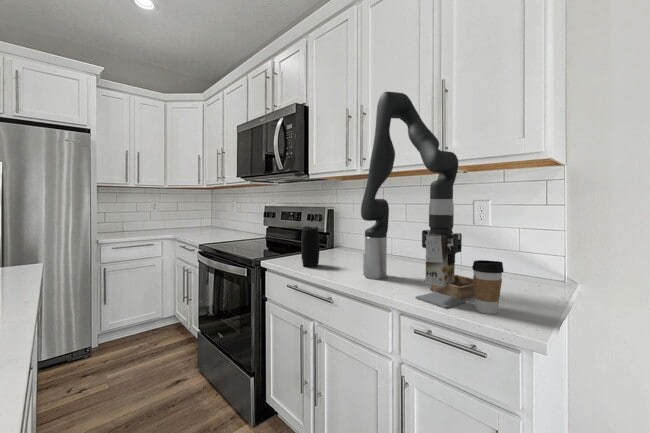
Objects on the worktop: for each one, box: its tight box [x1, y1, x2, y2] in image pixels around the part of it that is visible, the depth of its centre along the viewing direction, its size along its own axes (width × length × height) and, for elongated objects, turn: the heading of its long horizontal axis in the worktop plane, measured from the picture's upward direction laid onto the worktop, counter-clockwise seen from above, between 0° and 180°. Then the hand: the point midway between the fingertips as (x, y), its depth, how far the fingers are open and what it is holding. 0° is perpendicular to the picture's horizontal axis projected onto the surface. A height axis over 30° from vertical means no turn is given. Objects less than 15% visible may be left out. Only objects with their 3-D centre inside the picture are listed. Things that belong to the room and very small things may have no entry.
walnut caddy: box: [430, 274, 475, 300], centre depth 117 cm, size 12×14×4 cm
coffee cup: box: [471, 259, 505, 315], centre depth 97 cm, size 8×8×15 cm
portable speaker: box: [300, 225, 320, 268], centre depth 161 cm, size 9×9×20 cm
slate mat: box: [415, 291, 467, 310], centre depth 107 cm, size 12×10×1 cm
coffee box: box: [424, 234, 456, 287], centre depth 106 cm, size 9×6×16 cm
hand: (440, 263), depth 106 cm, fingers closed on coffee box, 7 cm apart
